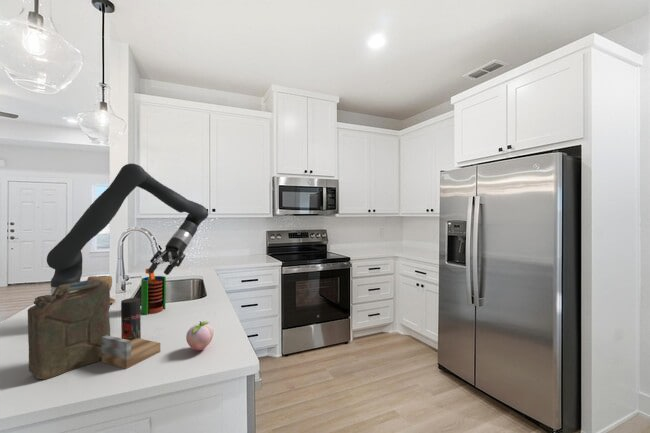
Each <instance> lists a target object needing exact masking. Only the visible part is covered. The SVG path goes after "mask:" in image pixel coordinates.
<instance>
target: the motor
mask: <svg viewBox="0 0 650 433" xmlns="http://www.w3.org/2000/svg"><path fill="white" fill-rule="evenodd" d="M148 269H149V268H146V269H145V274H148V276H146V277H143V278H141V287H140V288H141V290H140V293H141V294H140V314H142V315H145V316H146V315H152V314H159V313H161V312H163V311H164V310H166V296H167V294H166V289H167V288H166V285H167V284H166V281H167V279H166V277H167V276H166V275H165V276H164V275H155V271H154V272H153V273H149V272H148Z"/></svg>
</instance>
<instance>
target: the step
mask: <svg viewBox="0 0 650 433" xmlns="http://www.w3.org/2000/svg"><path fill="white" fill-rule="evenodd" d="M160 352H161V342H157V341H152V340H147V339H142V338H141V339H139V338H136V339H133V340H126V339H122V337H116V336H112V335H110V336H108V335H106V336H103V337H102V360H101V363H103V364H107V365H109V366H110V365H111V366H115V367H118V368H123V369H129V368H131V367H133V366H135V365H136V364H139V363H141V362H143V361H145V360H147V359H148V358H151V357H152V356H155V355H156V354H159V353H160Z"/></svg>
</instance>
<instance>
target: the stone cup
mask: <svg viewBox="0 0 650 433" xmlns="http://www.w3.org/2000/svg"><path fill="white" fill-rule="evenodd" d="M92 279H98V280H101V281H105V282H107V283H108V284H109V288H110V291H111V290H112V286H113V278H112V276H111V275H95V276H93V275H92V276H91V275H90V276H88V277H87V279H86V280H92ZM115 302H116V299H114V298H112V297H110V304H114V303H115Z"/></svg>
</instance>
